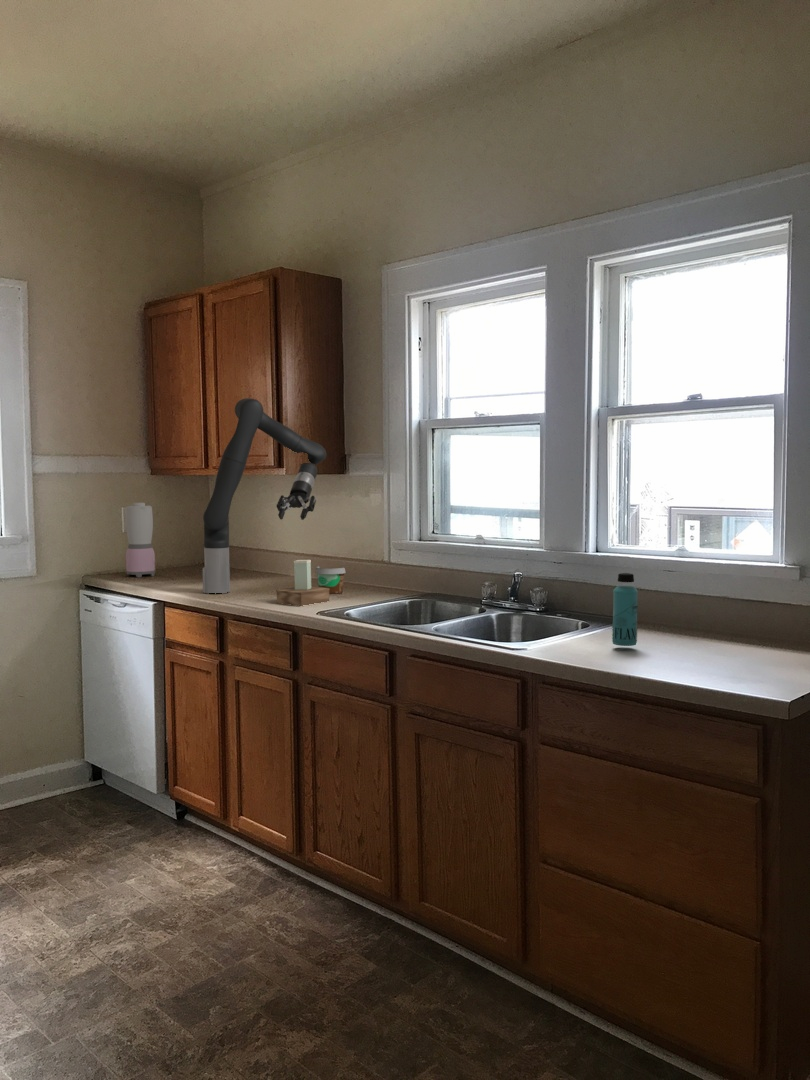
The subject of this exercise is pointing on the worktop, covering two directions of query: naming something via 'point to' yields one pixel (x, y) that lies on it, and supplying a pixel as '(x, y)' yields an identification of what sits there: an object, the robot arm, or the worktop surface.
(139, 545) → the blender
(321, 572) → the food container
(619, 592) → the beverage bottle
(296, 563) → the tea tin
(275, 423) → the robot arm
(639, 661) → the worktop surface
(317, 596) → the walnut box
